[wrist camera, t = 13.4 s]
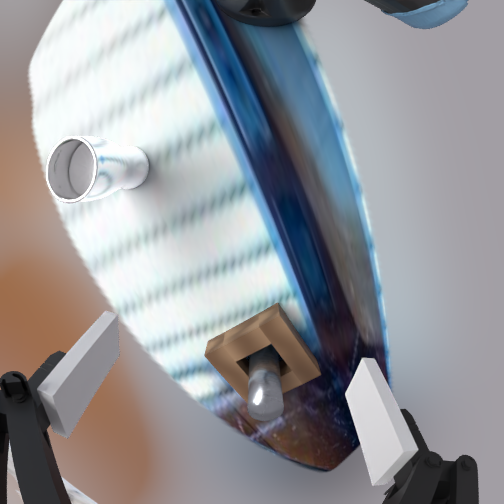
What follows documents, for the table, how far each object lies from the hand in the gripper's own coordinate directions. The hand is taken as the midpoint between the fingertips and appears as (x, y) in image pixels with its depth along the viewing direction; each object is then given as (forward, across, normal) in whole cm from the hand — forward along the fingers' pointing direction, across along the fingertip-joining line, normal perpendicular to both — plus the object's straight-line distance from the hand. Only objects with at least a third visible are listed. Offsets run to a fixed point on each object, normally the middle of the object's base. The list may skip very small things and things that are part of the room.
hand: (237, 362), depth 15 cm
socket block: (+26, +5, -18) cm, 32 cm away
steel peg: (+26, +5, -18) cm, 32 cm away
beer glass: (+27, -18, +6) cm, 34 cm away
